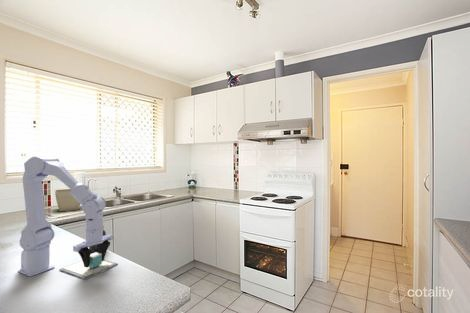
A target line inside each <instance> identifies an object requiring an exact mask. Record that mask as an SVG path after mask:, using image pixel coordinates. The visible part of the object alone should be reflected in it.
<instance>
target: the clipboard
mask: <svg viewBox="0 0 470 313" xmlns="http://www.w3.org/2000/svg"><path fill="white" fill-rule="evenodd" d="M116 266H118V263H117V262H112V261H109V260H106V259H104V261H102V264H100V265H99V267H98V268H95V269H90V268H89V267H88V268H87V267H84V264H83V261H82V260H80V261H78V262H75V263H72V264H70V265H67V266H65V267H64V266H63V267H62V268H60V269H59V271H60V272H63V273H66V274H68V275H71V276H74V277H76V278H79V279H81V280H85V281H86V280H88V279H90V278H93V277H95V276H96V275H97V276H98V275H99V274H101V273H102V272H105V271H107V270H109V269H112V268H114V267H116Z"/></svg>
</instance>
